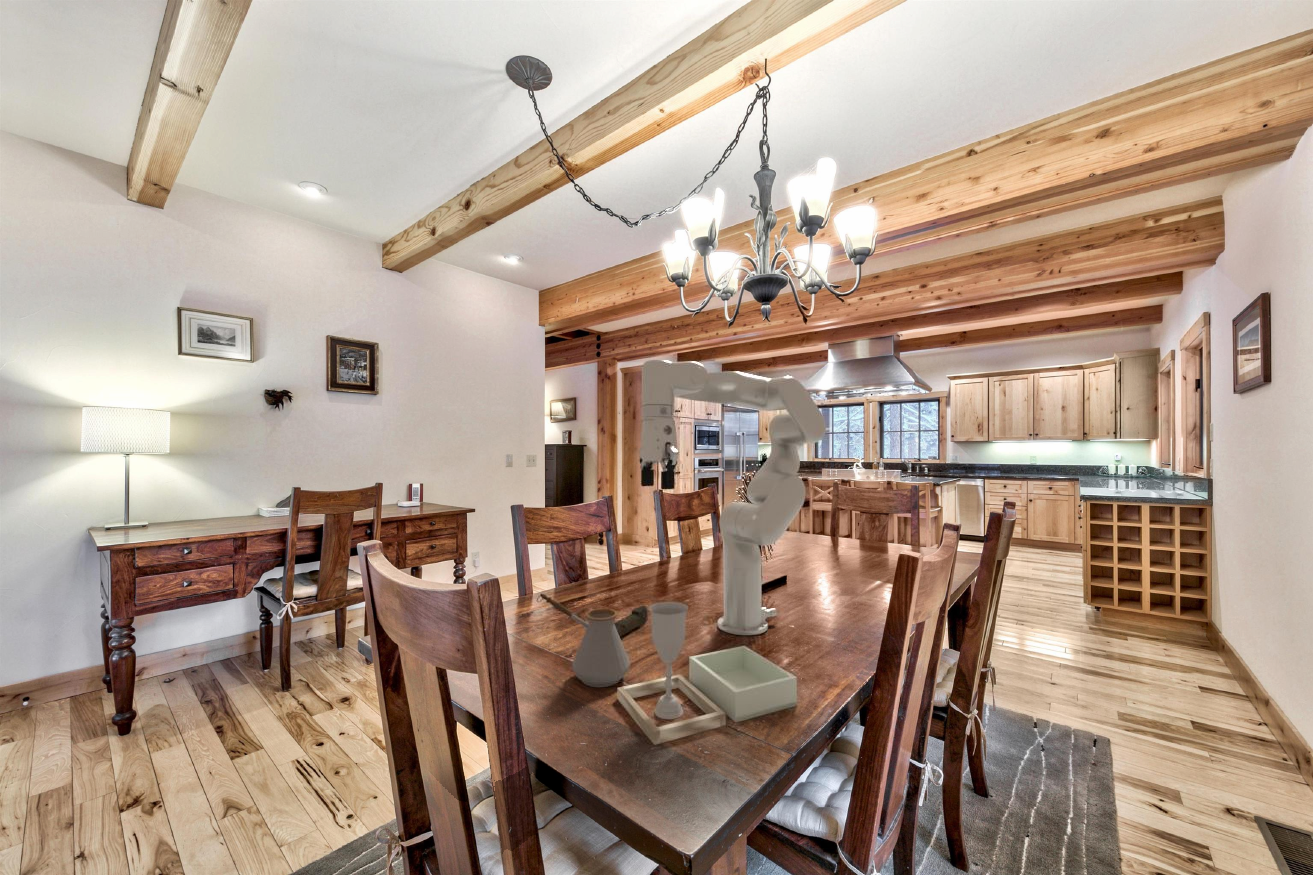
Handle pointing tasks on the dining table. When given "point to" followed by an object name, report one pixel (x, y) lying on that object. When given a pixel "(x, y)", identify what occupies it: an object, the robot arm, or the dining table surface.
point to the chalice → (668, 649)
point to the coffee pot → (598, 648)
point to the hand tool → (632, 620)
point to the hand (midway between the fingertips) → (657, 487)
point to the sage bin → (742, 682)
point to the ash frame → (673, 730)
